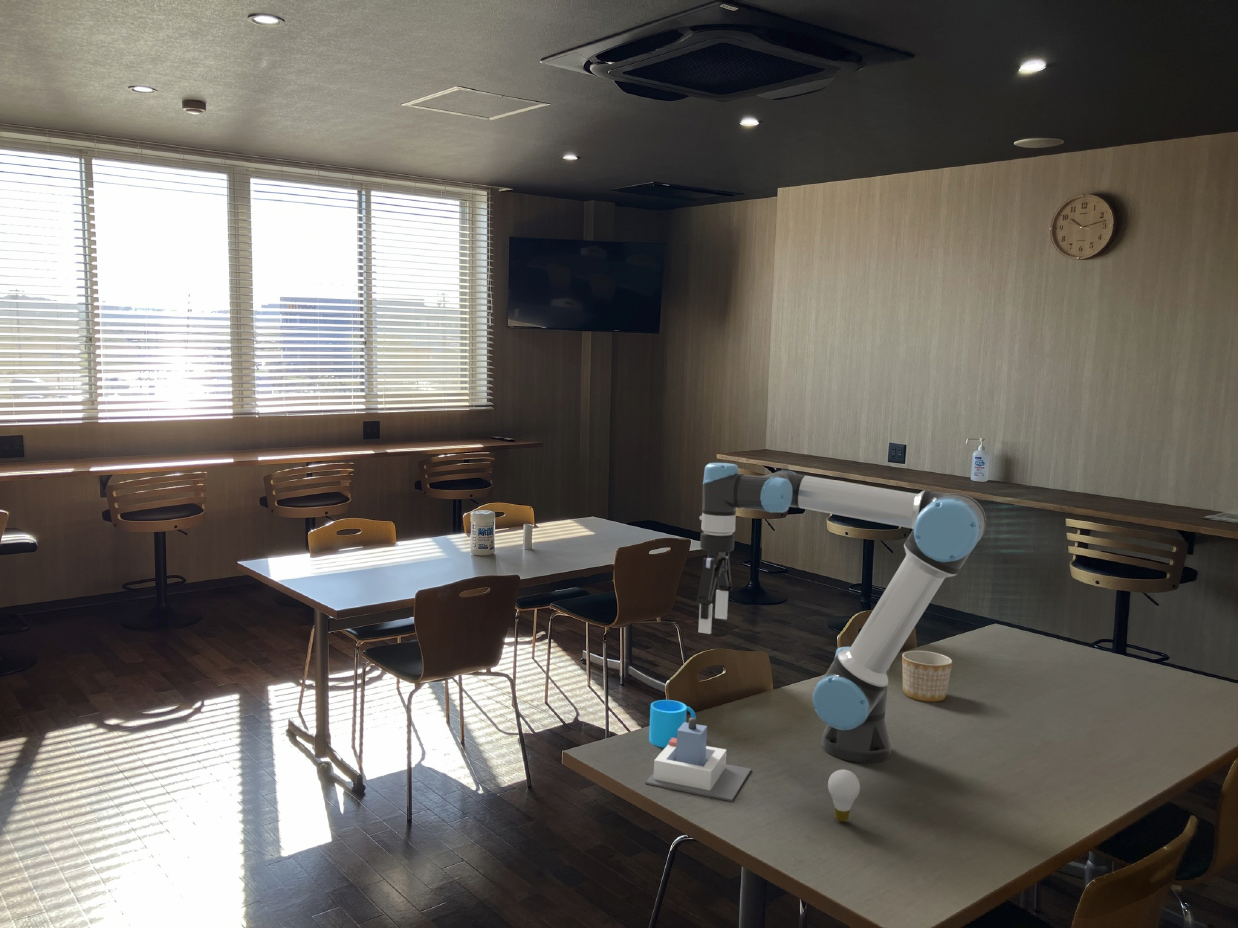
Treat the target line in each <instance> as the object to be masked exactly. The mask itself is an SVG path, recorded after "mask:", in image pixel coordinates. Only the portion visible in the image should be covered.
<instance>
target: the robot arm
mask: <svg viewBox="0 0 1238 928" xmlns="http://www.w3.org/2000/svg"><path fill="white" fill-rule="evenodd" d="M702 480H703V482H702V506H701V507H702V509H701V512H702V513H701V515H700V516H699V520H700V521H701V526H700V528H701V529H700V530H701V531H702V532H701V533H700V543H699V544H700V545H699V547H700V549H701V550H703V551H707V557H703V559H702V568H701V575H700V579H699V586H698V591H697V597H696V599H695V603H696V604H699V608H698V609H699V610H698V612H699V613H698V630H697V631H698V633H701V634H706V635H707V634H708V635H711V634H712V625H713V623H712V622H713V619H712V618H713V603H712V601H713V597H714V593H715V608H714V619H719V620H727V619H728V609H729V608H728V607H729V606H728V605H729V592H731V591H733V585H732V577H731V576H732V575H731V562H730V552H733V551H734V549H735V534H733V533H735V532H736V519H737V518H736V516H737V515H736V514H737V509H744V510H751V511H761V512H768V513H771V514H772V513H786V512H787V511H788V510H789V508H790V507H791V508H797V509H802V510H803V509H804V510H810V511H814V512H821V513H826V514H831V515H837V516H842V517H848V518H852V519H859V520H864V521H869V522H875V523H880V524H885V525H891V526H896V527H903V528H907V529H912V530H911V531H910V534H909V535H908V537H907V539H906V540H905V542H904V544H903V547H904V552H905V557H904V559H903V560H902V562H901V563H900V565H899V567H898V568H897V571H895V574H894V575H893V576H892V579H891V580H890V581H889V584H888V585H887V587H886V589H885V590H884V592H883V593H882V595H881V596H880V598H879V600H878V601H877V604H875V606H874V608H873V610H872V611H871V614H869V617H868V618H867V620H866V621H865V623H864V624H863V626H862V628H861V630H860V631H859V633H858V634H857V636H856V638H855V639H854V642H853V643H852V644H851V646H842V647H841V646H840V647H838V648H836V651H835V656H834V660H833V661H832V663H831V664H830V666H829V668H828V669H827V671H826V673H825V675H824V676H823V678H821V679H820V680H819V681H818V682H817V683H816V684H815V687H814V690H813V692H812V704H813V707H814V710H815V713H816V715H817V716H818V717H819V718H820V720H821V721H822V722H824V723H825V724H826V726H825V728H824V731H823V733H822V736H821V738H822V739H821V747H822V749H823V750H824V751H825V752H826V753H828V754H830V755H831V756H834V757H836V758H838V759H841V760H845V761H850V762H856V763H879V762H882V761H885V760H888V759H889V758H890V757H891V754H892V741H891V738H890V734H889V731H888V725H887V723H886V709H887V694H888V685H889V670H890V667H891V666H892V663H893V662H894V660H895V659H896V657H897V656H898V654H899V653H900V651H901V649H902V648H903V646H904V644H905V643H906V641H907V640H908V638H909V637H910V635H911V633H912V631H913V630H914V628H915V627H916V625H917V624H918V622H919V620H920V619H921V617H922V616H923V614H924V612H925V611H926V609H927V608H928V606H929V604H930V603H931V601H932V599H933V598H934V596H935V594H936V593H937V591H938V590H939V589H940V586H941V585H942V584H943V582H944V580H945V579H946V578H950V577H951V578H952V577H955V576H957V575H958V573H959V572H960V570H961V568H962V567H963V565H965V563H966V561H967V559H968V557H969V556H970V554H971V552H972V551H973V550H974V549H975V547H976V545H977V544H978V542H979V541H980V540H981V539H982V538H983V535H984V534H985V532H986V528H987V518H986V512H985V510H984V508H983V506H981V504H980V503H979V502H978V501H977V500H976V499H974V498H973V497H971V496H969V495H967V494H963V493H955V492H953V493H952V492H940V491H938V492H937V491H933V490H932V491H930V490H922V491H920V493H914V492H908V491H903V490H902V491H901V490H895V489H891V488H884V487H878V486H877V487H876V486H871V485H866V484H859V483H853V482H849V481H840V480H836V479H835V480H834V479H829V478H823V477H817V476H809V475H805V474H799V473H796V472H794V471H791V470H779V471H775V472H773V473H769V474H766V475H751V474H743V473H739V467H738V465H737V464H735V463H728V462H709V463H708V464H706V465H705V467H704V473H703V479H702ZM716 587H717V589H716V590H715V588H716ZM714 591H715V592H714Z"/></svg>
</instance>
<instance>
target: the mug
mask: <svg viewBox="0 0 1238 928" xmlns="http://www.w3.org/2000/svg"><path fill="white" fill-rule="evenodd" d="M649 711H650V712H649V713H650V714H649V735H648V737H649V738H648V741H649V743H650V744H651V745H653V746H655V747H659V748H663V749H665V748H666V746H667V745H668V744H669V741H670V740H671V738H677V730H678V729H679V728H680V726H681V725H682V724H683V723H684V722H686V723H687V714H688V712H689V713H690V718H691V717H693V718H696V719H697V716H696V712H695V711H694V709H692V708H691V707H690V706H687V705H686V704H685V703H684V702H681V701H678V700H671V699H662V700H661V699H659V700H656V701H653V702H651V703H650V710H649Z"/></svg>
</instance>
